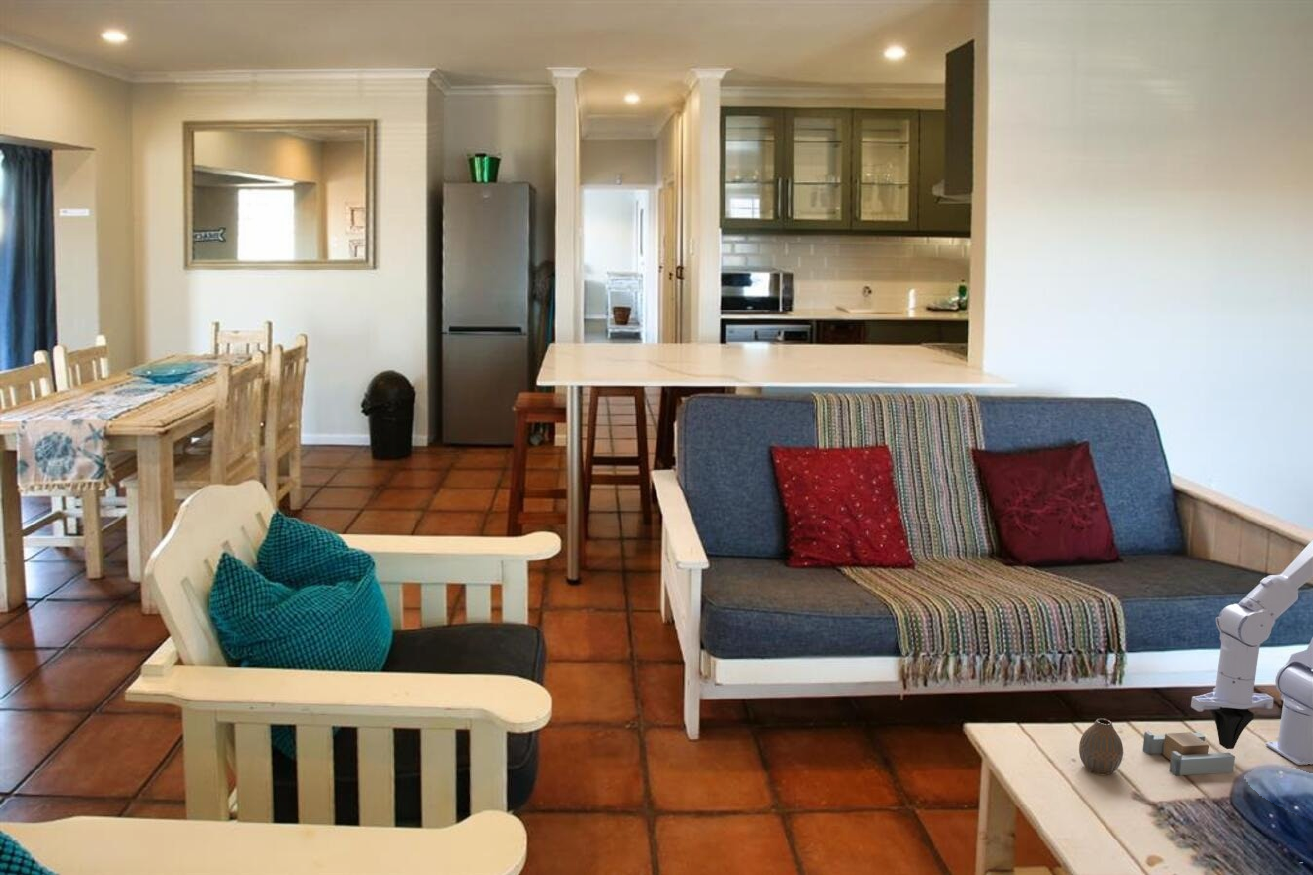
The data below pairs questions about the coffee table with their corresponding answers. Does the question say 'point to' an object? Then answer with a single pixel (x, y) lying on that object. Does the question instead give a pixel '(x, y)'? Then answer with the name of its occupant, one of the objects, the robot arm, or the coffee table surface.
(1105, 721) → the vase
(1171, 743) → the walnut block
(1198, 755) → the pair of lipped bars
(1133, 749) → the coffee table surface
